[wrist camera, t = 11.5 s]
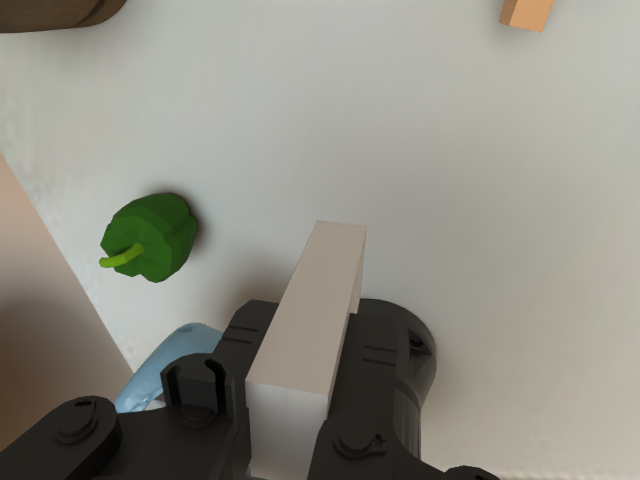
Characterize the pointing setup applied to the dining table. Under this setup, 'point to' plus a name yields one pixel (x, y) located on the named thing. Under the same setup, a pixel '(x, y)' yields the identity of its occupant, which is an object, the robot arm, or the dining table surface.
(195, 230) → the bell pepper
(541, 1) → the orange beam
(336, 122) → the dining table surface
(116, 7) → the wooden container
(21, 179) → the dining table surface
